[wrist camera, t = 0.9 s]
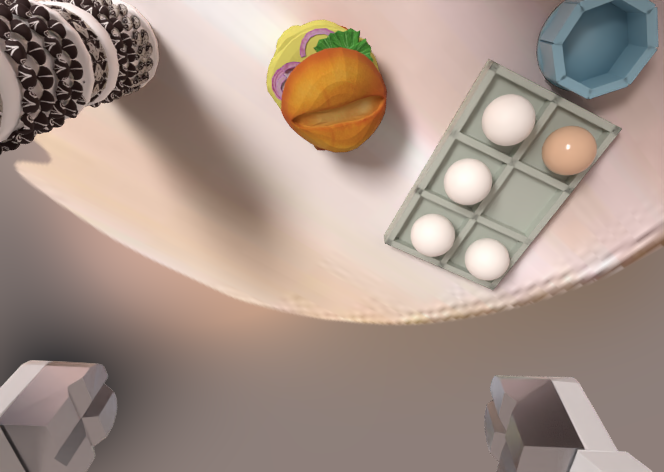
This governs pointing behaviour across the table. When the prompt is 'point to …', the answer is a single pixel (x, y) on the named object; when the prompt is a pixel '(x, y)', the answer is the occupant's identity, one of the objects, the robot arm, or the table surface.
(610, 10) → the egg cup
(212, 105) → the table surface
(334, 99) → the cheeseburger
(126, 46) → the black white tall cylinder
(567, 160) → the brown egg
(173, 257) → the table surface
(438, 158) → the egg carton
